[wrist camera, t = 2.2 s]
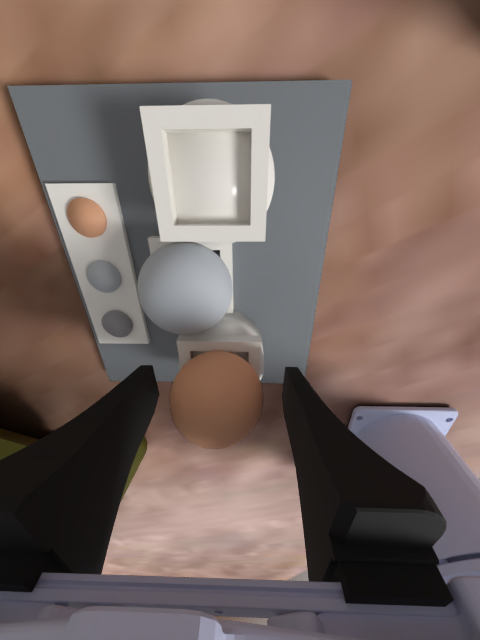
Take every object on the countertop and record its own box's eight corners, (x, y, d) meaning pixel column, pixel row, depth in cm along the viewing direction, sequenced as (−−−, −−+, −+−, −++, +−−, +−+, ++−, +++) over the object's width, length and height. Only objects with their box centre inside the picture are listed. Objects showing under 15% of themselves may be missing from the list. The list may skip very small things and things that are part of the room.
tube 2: (260, 371, 17) (263, 406, 14) (192, 370, 17) (181, 405, 14) (263, 308, 15) (267, 336, 12) (183, 308, 15) (169, 336, 12)
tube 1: (266, 235, 13) (272, 249, 10) (174, 235, 13) (154, 249, 10) (272, 116, 10) (281, 91, 8) (159, 118, 10) (127, 93, 8)
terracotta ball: (259, 396, 15) (264, 471, 11) (186, 395, 15) (165, 469, 11) (262, 333, 12) (269, 400, 9) (177, 333, 13) (146, 398, 9)
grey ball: (235, 310, 15) (230, 354, 11) (162, 309, 15) (132, 353, 11) (233, 233, 13) (227, 254, 9) (149, 233, 13) (106, 254, 9)
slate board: (301, 374, 18) (305, 389, 17) (116, 371, 19) (105, 386, 17) (343, 88, 11) (358, 73, 9) (26, 93, 11) (-7, 80, 9)
